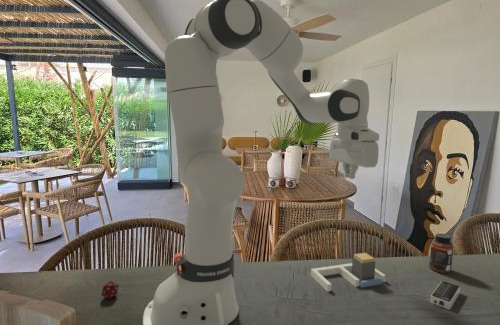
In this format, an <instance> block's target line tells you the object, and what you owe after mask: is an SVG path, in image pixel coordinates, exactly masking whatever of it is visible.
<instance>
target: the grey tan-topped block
mask: <svg viewBox="0 0 500 325" xmlns="http://www.w3.org/2000/svg"><path fill="white" fill-rule="evenodd" d="M351 263H352V272H351V273H352V274H353V275H354V276H355V277H357V278H358V279H359V284H360V283H361V281H364V280H370V279H375V277H374V275H375V269H376V261H375V257H373V256H371V255H370V254H368V253H367V252H361V253H360V252H359V253H354V254H353V257H352V262H351Z"/></svg>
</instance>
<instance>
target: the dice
mask: <svg viewBox="0 0 500 325" xmlns="http://www.w3.org/2000/svg"><path fill="white" fill-rule="evenodd" d="M118 290H119V284H117V283H115V282H113V281H112V280H109V281H108V282H107V283H106V284H104V285H103V287H102V292H101V296H102V297H104V298H106V299H109V300H110V299H112V298H113V297H114V296H116V295H117V294H118Z"/></svg>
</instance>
